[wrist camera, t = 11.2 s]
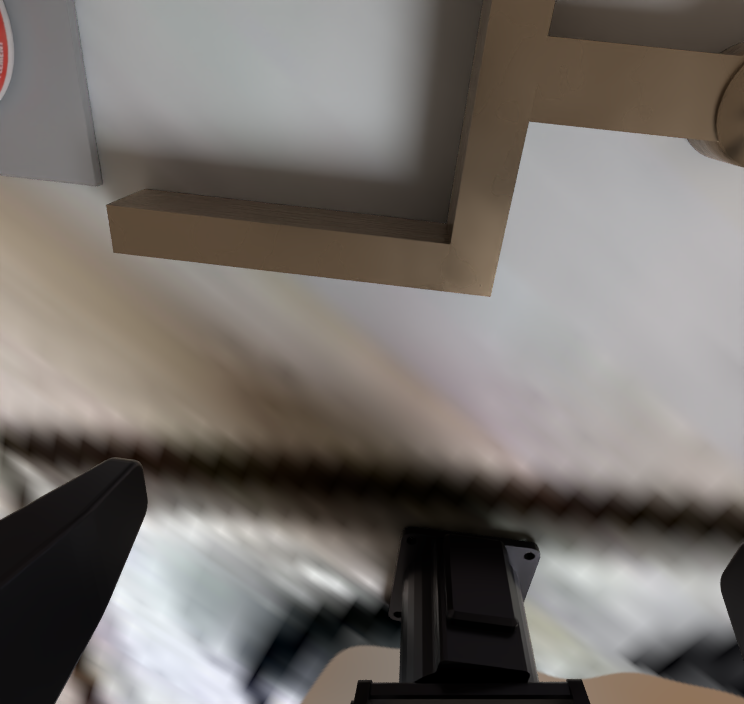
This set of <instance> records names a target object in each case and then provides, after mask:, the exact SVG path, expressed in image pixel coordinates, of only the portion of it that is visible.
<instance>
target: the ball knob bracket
mask: <svg viewBox="0 0 744 704" xmlns="http://www.w3.org/2000/svg"><path fill="white" fill-rule="evenodd" d="M555 1H556V0H483V3H482V9H481V15H480V22H479V28H478V34H477V40H476V46H475V52H474V58H473V64H472V70H471V77H470V83H469V89H468V95H467V101H466V107H465V113H464V119H463V125H462V132H461V138H460V144H459V150H458V156H457V162H456V168H455V174H454V180H453V187H452V193H451V199H450V205H449V211H448V217H447V223H440V222H431V221H422V220H414V219H405V218H396V217H387V216H378V215H370V214H361V213H352V212H343V211H334V210H326V209H317V208H308V207H299V206H291V205H282V204H273V203H264V202H255V201H247V200H238V199H229V198H220V197H211V196H203V195H194V194H185V193H176V192H168V191H159V190H150V189H143V190H141V191H139V192H136V193H134V194H131V195H129V196H127V197H124V198H122V199H119V200H117V201H114V202H112V203H110V204H107V205H106V207H107V213H108V220H109V226H110V233H111V239H112V246H113V252H114V253H122V254H130V255H139V256H147V257H156V258H164V259H173V260H181V261H190V262H198V263H207V264H215V265H224V266H232V267H241V268H249V269H258V270H266V271H275V272H283V273H292V274H301V275H309V276H318V277H326V278H335V279H343V280H352V281H360V282H369V283H377V284H386V285H394V286H403V287H411V288H420V289H428V290H437V291H445V292H454V293H463V294H471V295H480V296H488V297H490V296H491V292H492V287H493V283H494V278H495V273H496V269H497V264H498V260H499V255H500V251H501V246H502V242H503V237H504V233H505V228H506V224H507V219H508V214H509V210H510V205H511V201H512V196H513V192H514V187H515V183H516V178H517V174H518V169H519V164H520V160H521V155H522V151H523V146H524V142H525V137H526V133H527V128H528V124H529V121H530V122H539V123H548V124H557V125H567V126H576V127H585V128H594V129H604V130H613V131H622V132H631V133H641V134H650V135H659V136H668V137H678V138H687V139H688V141H689V142H690V144H691V145H692V146H693V147H694V149H695V150H697V151H698V152H699V153H701V154H702V155H704V156H706V157H709V158H712V159H716V160H719V161H723V162H726V163H730V164H733V165H737V166H740V167H744V42H742V43H739V44H736V45H734V46H732V47H730V48H728V49H726V50H725V51H723V52H722V53H720V54H716V53H706V52H696V51H687V50H677V49H667V48H658V47H648V46H639V45H629V44H619V43H610V42H600V41H590V40H581V39H571V38H561V37H552V36H548V33H549V28H550V24H551V19H552V14H553V10H554V5H555Z"/></svg>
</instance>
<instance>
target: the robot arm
mask: <svg viewBox="0 0 744 704" xmlns="http://www.w3.org/2000/svg"><path fill="white" fill-rule="evenodd" d="M147 504H148V500H147V493H146V486H145V480H144V474H143V468H142V465H141V464H140V462H138V461H136V460H131V459H123V458H111V459H108V460H106V461H104V462H102V463H101V464H99V465H97V466H95V467H93V468H92V469H90V470H88V471H86V472H85V473H83V474H81V475H79V476H77V477H76V478H74V479H72V480H70V481H69V482H67V483H65V484H63V485H61V486H60V487H58V488H56V489H54V490H52V491H51V492H49V493H47V494H45V495H44V496H42V497H40V498H38V499H36V500H35V501H33V502H31V503H29V504H28V505H26V506H24V507H22V508H20V509H19V510H17V511H15V512H13V513H12V514H10V515H8V516H6V517H4V518H3V519H1V520H0V704H55V703H56V701H57V699H58V697H59V696H60V694H61V692H62V690H63V688H64V686H65V685H66V683H67V681H68V679H69V677H70V675H71V674H72V672H73V670H74V668H75V666H76V664H77V663H78V661H79V659H80V657H81V655H82V653H83V652H84V650H85V648H86V646H87V644H88V642H89V640H90V639H91V637H92V635H93V633H94V631H95V629H96V627H97V626H98V624H99V622H100V620H101V618H102V616H103V614H104V612H105V610H106V607H107V605H108V603H109V601H110V598H111V596H112V594H113V591H114V589H115V587H116V584H117V582H118V579H119V577H120V575H121V572H122V570H123V567H124V565H125V563H126V560H127V558H128V556H129V553H130V551H131V548H132V546H133V544H134V541H135V539H136V536H137V534H138V532H139V529H140V527H141V524H142V522H143V520H144V517H145V515H146V511H147ZM410 537H414V538H410ZM529 552H530V553H529ZM539 559H540V551H539V548H538V546H537V545H536V544H535V543H532V542H527V541H519V540H512V539H504V538H496V537H488V536H481V535H473V534H465V533H458V532H450V531H442V530H434V529H427V528H419V527H407V528H405V529H404V530H403V531H402V533H401V539H400V545H399V551H398V557H397V562H396V568H395V574H394V580H393V586H392V592H391V598H390V603H389V616H390V618H392V619H393V620H397V621H401V642H400V674H399V683H372V680H358V684H357V689H356V694H355V698H354V701H351V704H590V701H589V699H588V696H587V693H586V690H585V687H584V685H583V682H582V679H567V680H566V682H539V680H538V674H537V669H536V664H535V659H534V654H533V649H532V644H531V639H530V634H529V629H528V624H527V619H526V614H525V609H524V604H523V603H524V600H525V598H526V595H527V592H528V589H529V587H530V584H531V581H532V578H533V576H534V573H535V570H536V568H537V565H538V562H539ZM720 586H721V593H722V596H723V599H724V602H725V605H726V608H727V611H728V615H729V618H730V621H731V624H732V627H733V630H734V633H735V636H736V639H737V642H738V645H739V648H740V651H741V654H742V658H743V661H744V542H743V543H742V544H741V545H740V547H739V548H738V550H737V551H736V553H735V555H734V556H733V558H732V559H731V561H730V562H729V564H728V566H727V567H726V569H725V570H724V572H723V574H722V576H721V582H720Z"/></svg>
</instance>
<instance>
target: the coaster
mask: <svg viewBox="0 0 744 704" xmlns="http://www.w3.org/2000/svg"><path fill="white" fill-rule="evenodd" d="M3 2H4V5H5V8H6V11H7V14H8V17H9V20H10V24H11V29H12V33H13V42H14V66H13V72H12V76H11V80H10V83H9V86H8V88H7V90H6V92H5V94H4V96H3V97H2V99H1V100H0V175H1V176H10V177H19V178H28V179H37V180H45V181H54V182H63V183H72V184H80V185H89V186H98V185H101V184H102V178H101V172H100V165H99V159H98V152H97V146H96V139H95V133H94V126H93V120H92V113H91V107H90V100H89V94H88V87H87V81H86V74H85V68H84V61H83V55H82V48H81V42H80V36H79V29H78V23H77V16H76V10H75V3H74V0H3Z"/></svg>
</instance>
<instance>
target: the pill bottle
mask: <svg viewBox="0 0 744 704" xmlns="http://www.w3.org/2000/svg"><path fill="white" fill-rule="evenodd" d="M13 66H14V42H13V33H12V29H11V24H10V20H9V17H8V14H7V11H6V8H5V5H4V2H3V0H0V100H1V99H2V97H3V96H4V94H5V92H6V90H7V88H8V86H9V83H10V80H11V76H12V72H13Z"/></svg>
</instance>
